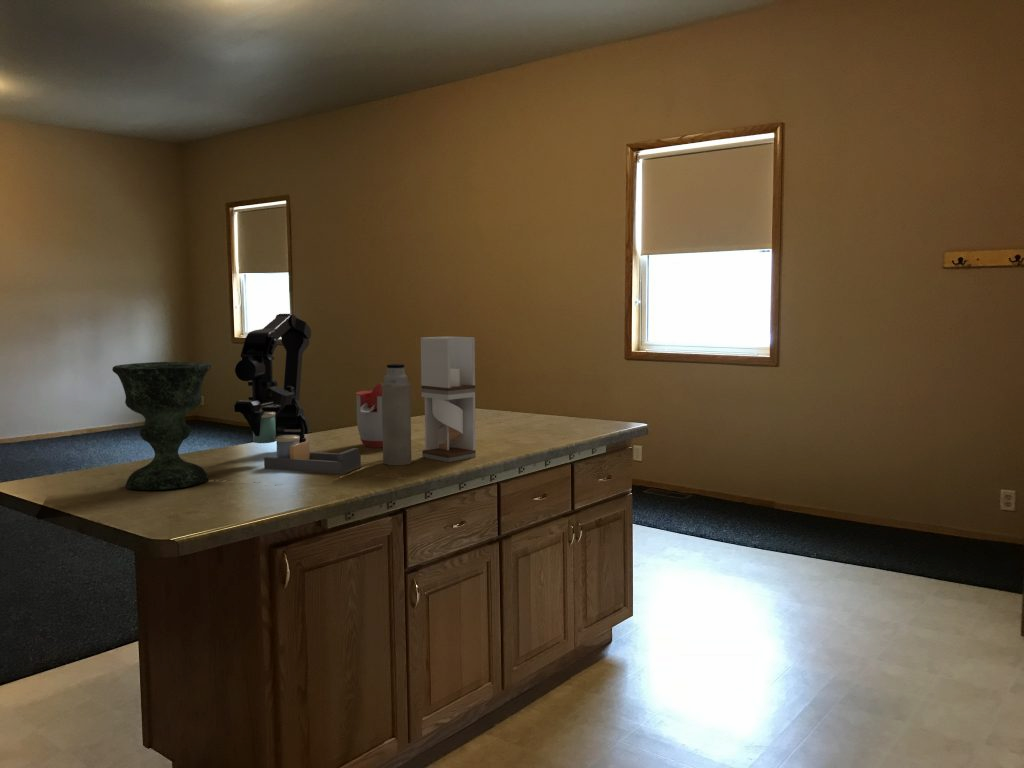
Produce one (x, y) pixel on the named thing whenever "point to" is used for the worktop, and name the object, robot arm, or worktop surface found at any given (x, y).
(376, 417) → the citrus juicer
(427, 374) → the spiral ramp tower
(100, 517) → the worktop surface
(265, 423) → the teal jar
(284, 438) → the slate jar
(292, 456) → the bar
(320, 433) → the worktop surface
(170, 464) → the goblet
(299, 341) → the robot arm
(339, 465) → the grey open rectangular box
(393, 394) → the thermos bottle
